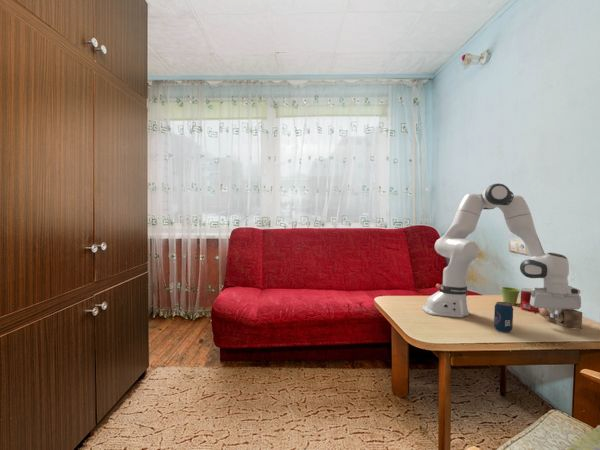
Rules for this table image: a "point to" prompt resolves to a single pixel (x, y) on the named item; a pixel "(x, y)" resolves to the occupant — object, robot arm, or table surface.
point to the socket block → (568, 318)
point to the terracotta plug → (544, 312)
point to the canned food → (527, 300)
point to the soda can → (503, 317)
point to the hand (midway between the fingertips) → (554, 317)
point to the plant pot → (510, 295)
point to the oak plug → (560, 318)
